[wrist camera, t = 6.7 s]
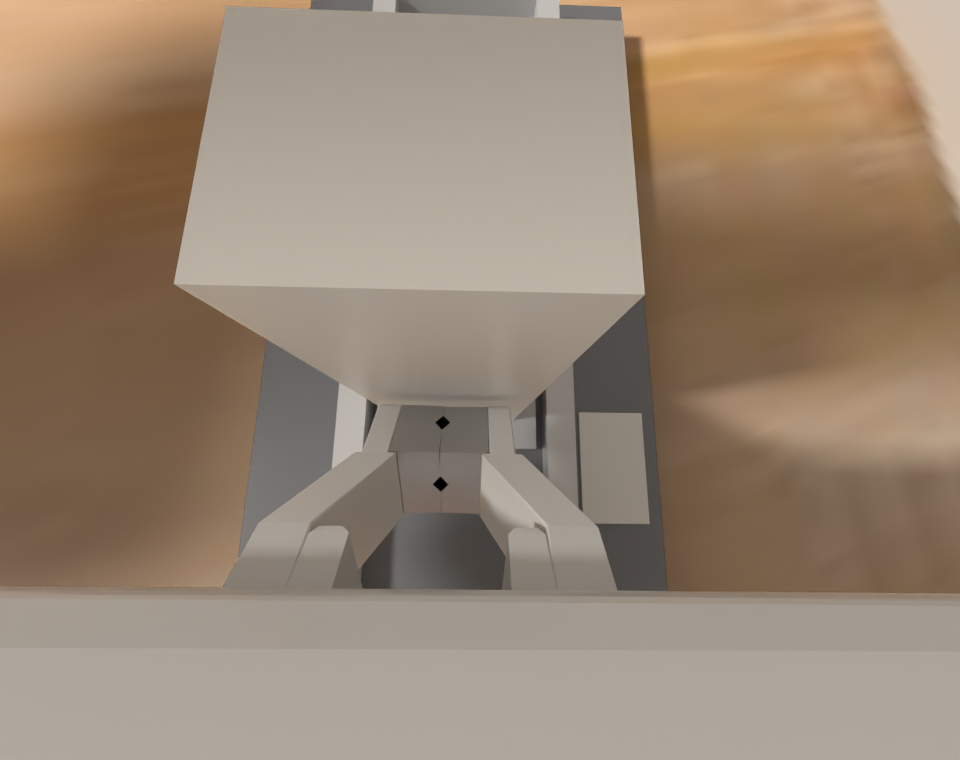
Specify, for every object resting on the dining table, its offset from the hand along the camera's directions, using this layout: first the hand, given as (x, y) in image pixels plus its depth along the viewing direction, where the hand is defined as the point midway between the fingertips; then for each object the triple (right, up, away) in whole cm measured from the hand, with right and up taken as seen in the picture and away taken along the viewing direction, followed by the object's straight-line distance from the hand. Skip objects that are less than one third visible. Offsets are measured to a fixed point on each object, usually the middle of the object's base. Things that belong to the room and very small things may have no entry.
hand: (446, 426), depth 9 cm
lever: (0, +1, +5) cm, 6 cm away
